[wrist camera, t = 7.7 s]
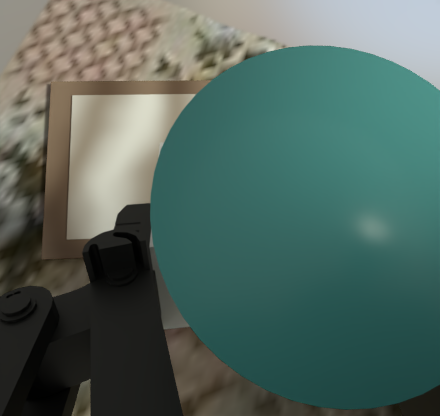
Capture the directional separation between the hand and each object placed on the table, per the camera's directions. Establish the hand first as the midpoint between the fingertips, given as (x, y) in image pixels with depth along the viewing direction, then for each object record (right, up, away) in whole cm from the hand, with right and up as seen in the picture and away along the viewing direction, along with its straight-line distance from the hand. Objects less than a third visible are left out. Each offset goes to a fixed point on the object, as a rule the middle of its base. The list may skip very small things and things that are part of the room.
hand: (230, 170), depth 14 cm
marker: (0, -5, +4) cm, 6 cm away
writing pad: (-5, +2, +17) cm, 18 cm away
